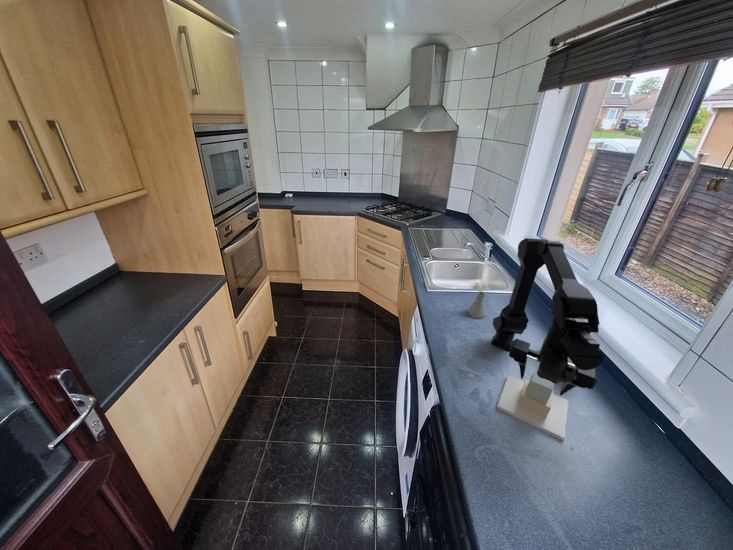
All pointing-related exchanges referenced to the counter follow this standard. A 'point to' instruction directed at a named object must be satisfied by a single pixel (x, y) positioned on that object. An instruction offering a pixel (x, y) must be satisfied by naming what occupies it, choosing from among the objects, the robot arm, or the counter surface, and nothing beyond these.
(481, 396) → the counter surface
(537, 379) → the sage cube
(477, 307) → the flask
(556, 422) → the build base
